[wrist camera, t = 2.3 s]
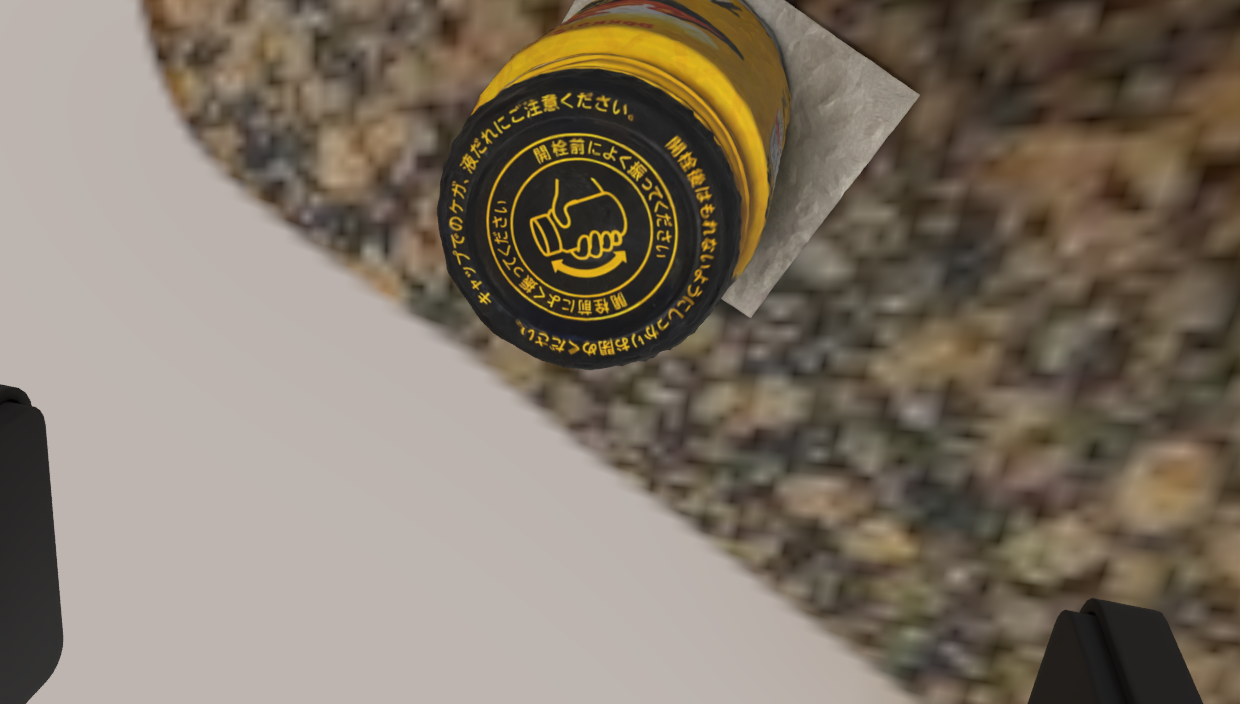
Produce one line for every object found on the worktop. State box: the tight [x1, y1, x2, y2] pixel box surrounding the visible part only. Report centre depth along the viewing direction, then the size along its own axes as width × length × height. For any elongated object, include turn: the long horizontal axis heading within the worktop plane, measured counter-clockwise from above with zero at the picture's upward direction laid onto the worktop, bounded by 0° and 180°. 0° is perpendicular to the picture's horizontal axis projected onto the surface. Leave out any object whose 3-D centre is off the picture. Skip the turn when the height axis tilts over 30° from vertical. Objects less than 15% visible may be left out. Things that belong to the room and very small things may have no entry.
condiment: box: [437, 0, 920, 370], centre depth 25 cm, size 7×8×12 cm
